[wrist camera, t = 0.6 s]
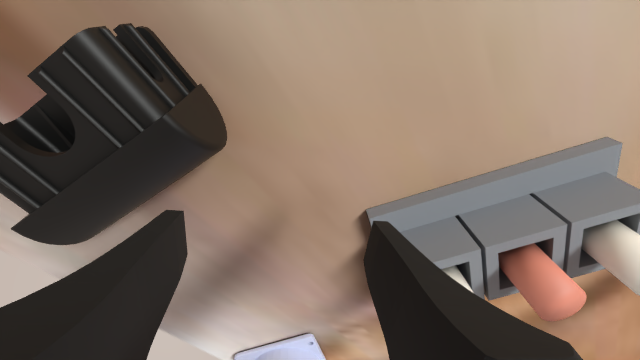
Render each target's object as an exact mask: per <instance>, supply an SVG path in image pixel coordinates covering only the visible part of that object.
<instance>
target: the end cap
mask: <svg viewBox="0 0 640 360" xmlns="http://www.w3.org/2000/svg"><path fill="white" fill-rule="evenodd" d="M114 31H115V33H116V34H117V36H116V37H115V36H114V35H113V34H112V33H111V31H110V30H109V29H107V28H106V26H102V27H93V28H88V29H85V30H83V31H81V32H79V33H77V34H76V35H74V36H73V37H72V38H70V39H69V40H68V41H67V42H66V43H64V44H63V45H62V46H61V47H60V48H59V49H58V50H56V51H55V52H54V53H53V54H52V55H51V56H49V57H48V58H47V59H46V60H45V61H44V62H43V63H41V64H40V65H39V66H38V67H37V68H36V69H35V70H33V71H32V72H31V73H30V74H29V75H28V77H29V78H30V79H31V80H32V81H34V82H35V83H36V84H37V85H38V86H39V87H40V88H41V89H42V90H43V91H44V92H46V93H47V95H46V96H44V97H43V98H42V99H41V100H40V101H38V102H37V103H36V104H35V105H34V106H32V107H31V108H30V109H29V110H28V111H26V112H25V113H24V114H23V115H22V116H20V117H19V118H17V119H16V120H13V121H11V122H9V123H6V124H4V125H3V124H2V123H1V122H0V193H1V194H3V195H4V196H5V197H7V198H8V199H10V200H11V201H12V202H14V203H15V204H17V205H18V206H19V207H21V208H22V209H24V210H25V211H26V212H28V213H29V214H28V215H27V216H26V217H25V218H23V219H22V220H21V221H20V222H18V223H17V224H16V225H15V226H13V227H12V228H11V230H13V231H15V232H17V233H19V234H20V235H22V236H24V237H27V238H29V239H32V240H34V241H37V242H42V243H46V244H54V245H70V244H77V243H80V242H83V241H86V240H88V239H90V238H92V237H94V236H95V235H97V234H98V233H100V232H101V231H103V230H104V229H106V228H107V227H109V226H110V225H111V224H113V223H114V222H116V221H117V220H119V219H120V218H122V217H123V216H125V215H126V214H128V213H129V212H131V211H132V210H134V209H135V208H137V207H138V206H139V205H141V204H142V203H144V202H145V201H147V200H148V199H150V198H151V197H153V196H154V195H156V194H157V193H159V192H160V191H162V190H163V189H165V188H166V187H167V186H169V185H170V184H172V183H173V182H175V181H176V180H178V179H179V178H181V177H182V176H184V175H185V174H187V173H188V172H190V171H191V170H193V169H194V168H196V167H197V166H198V165H200V164H201V163H203V162H204V161H206V160H207V159H209V158H210V157H212V156H213V155H215V154H216V153H218V152H219V151H221V150H222V149H223V147H224V146H225V145H226V141H227V131H226V126H225V123H224V121H223V118H222V116H221V114H220V112H219V110H218V108H217V106H216V104H215V103H214V101H213V99H212V98H211V97H210V95H209V94H208V92H207V91H206V90H205V88H204V87H203V86H202V84H199V85H197V84H196V83H195V81H194V80H193V79H192V78H191V77H190V75H189V74H188V73H187V72H186V71H185V69H184V68H183V67H182V66H181V65H180V63H179V62H178V61H177V60H176V59H175V57H174V56H173V55H172V54H171V53H170V51H169V50H168V49H167V48H166V47H165V45H164V44H163V43H162V42H161V41H160V39H159V38H158V37H157V36H156V35H155V33H154V32H153V31H151V30H150V29H149V28H147V27H143V26H141V27H136V28H135V27H134V26H133V25H132V24H131V23H130V24H120V25H118V26H117V27H116V28H115V29H114Z"/></svg>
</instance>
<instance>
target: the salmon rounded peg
mask: <svg viewBox="0 0 640 360" xmlns="http://www.w3.org/2000/svg"><path fill="white" fill-rule="evenodd" d="M498 261H499V267H500V268H501V270H502V271H503V272H504V273H505V274H506V276H507V277H508V278H509V279H510V281H511V282H512V283H513V284H514V286H515V287H516V288H517V289H518V291H519V292H520V293H521V294H522V296H523V297H524V298H525V299H526V301H527V302H528V303H529V304H530V305H531V307H532V308H533V309H534V310H535V312H536V313H537V314H538V315H539V317H540V318H541V319H543V320H546V321H558V320H562V319H565V318H567V317H570V316H571V315H573V314H575V313H576V312H577V311H579V310H580V309H581V308H582V306H583V305H584V303H585V301H586V297H587V296H586V293H585V292H584V291H583V290H582V289H581V288H580V287H579V286H578V285H577V284H576V283H575V282H574V281H573V280H572V279H571V278H570V277H569V276H568V275H567V274H566V273H565V272H564V271H563V270H562V269H561V268H560V267H559V266H558V265H557V264H555V263H554V262H553V261H552V260H551V259H550V258H549V257H548V256H547V255H546V254H545V253H544V252H543V251H542V250H541V249H540V248H539V247H538V246H537V245H536V244H535V243H532V244H529V245H525V246H522V247H518V248H515V249H511V250H508V251H504V252H501V253H498Z"/></svg>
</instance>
